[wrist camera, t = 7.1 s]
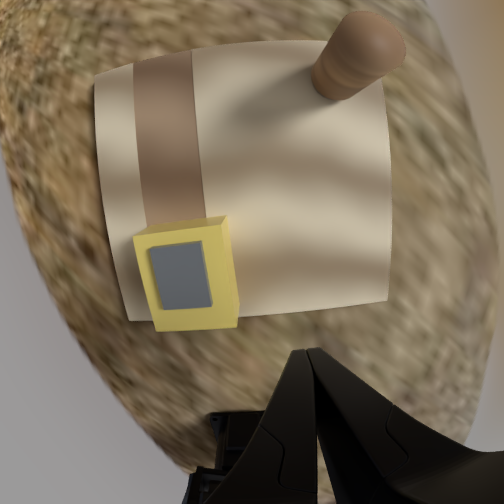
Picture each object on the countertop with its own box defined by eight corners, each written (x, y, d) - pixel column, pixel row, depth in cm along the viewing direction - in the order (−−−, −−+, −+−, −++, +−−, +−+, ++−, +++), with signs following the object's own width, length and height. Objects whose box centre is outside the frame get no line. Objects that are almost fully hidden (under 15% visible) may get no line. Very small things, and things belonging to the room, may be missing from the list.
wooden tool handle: (357, 103, 15) (411, 75, 9) (311, 103, 16) (346, 67, 9) (351, 61, 15) (397, 17, 8) (305, 59, 15) (333, 7, 8)
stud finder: (239, 304, 19) (236, 332, 16) (169, 309, 20) (154, 335, 16) (226, 215, 18) (219, 226, 14) (150, 225, 18) (128, 238, 14)
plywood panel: (382, 294, 20) (387, 300, 19) (133, 314, 21) (129, 320, 20) (369, 50, 15) (374, 45, 14) (101, 78, 16) (94, 75, 15)
